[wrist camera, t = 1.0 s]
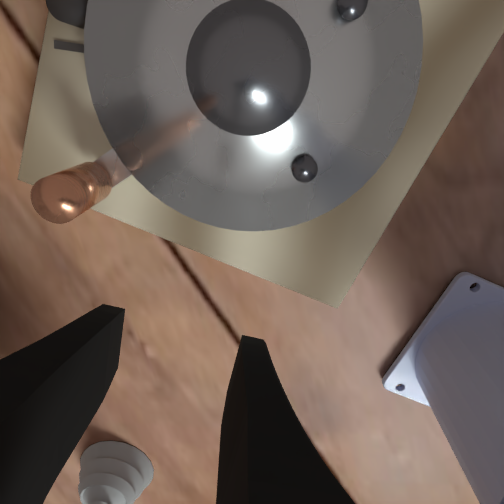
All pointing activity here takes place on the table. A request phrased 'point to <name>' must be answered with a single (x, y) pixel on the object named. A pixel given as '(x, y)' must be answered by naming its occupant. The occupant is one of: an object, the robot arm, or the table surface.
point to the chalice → (113, 473)
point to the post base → (286, 239)
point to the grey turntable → (242, 105)
